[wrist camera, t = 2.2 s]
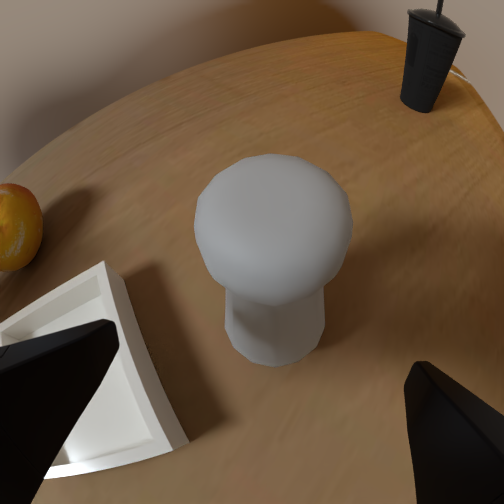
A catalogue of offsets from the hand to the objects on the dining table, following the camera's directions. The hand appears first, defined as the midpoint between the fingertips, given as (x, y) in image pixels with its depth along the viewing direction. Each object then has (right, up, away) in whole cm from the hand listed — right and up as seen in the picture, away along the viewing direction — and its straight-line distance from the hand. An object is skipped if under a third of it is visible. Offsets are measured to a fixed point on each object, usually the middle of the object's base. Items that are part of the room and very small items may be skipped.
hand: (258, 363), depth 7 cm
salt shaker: (+1, -2, +11) cm, 11 cm away
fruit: (-24, +3, +16) cm, 29 cm away
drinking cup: (+23, +24, +23) cm, 40 cm away
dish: (-13, -7, +9) cm, 17 cm away
